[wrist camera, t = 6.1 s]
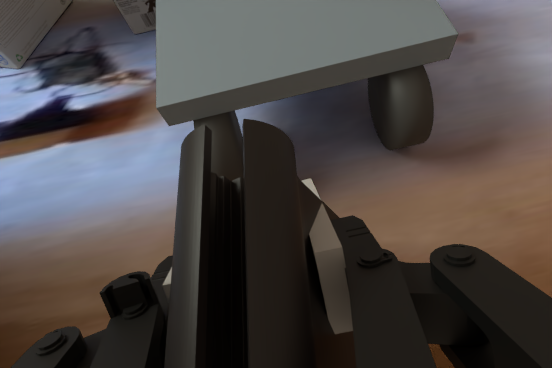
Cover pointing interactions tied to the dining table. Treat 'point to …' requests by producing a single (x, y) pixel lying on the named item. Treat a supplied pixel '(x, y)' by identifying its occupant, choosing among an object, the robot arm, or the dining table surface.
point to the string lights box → (25, 27)
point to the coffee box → (138, 14)
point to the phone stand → (248, 263)
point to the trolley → (296, 62)
